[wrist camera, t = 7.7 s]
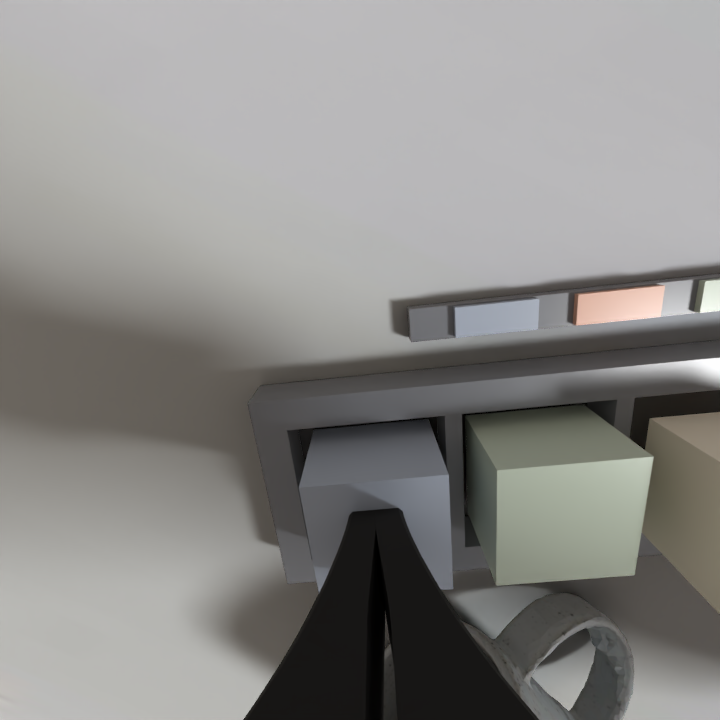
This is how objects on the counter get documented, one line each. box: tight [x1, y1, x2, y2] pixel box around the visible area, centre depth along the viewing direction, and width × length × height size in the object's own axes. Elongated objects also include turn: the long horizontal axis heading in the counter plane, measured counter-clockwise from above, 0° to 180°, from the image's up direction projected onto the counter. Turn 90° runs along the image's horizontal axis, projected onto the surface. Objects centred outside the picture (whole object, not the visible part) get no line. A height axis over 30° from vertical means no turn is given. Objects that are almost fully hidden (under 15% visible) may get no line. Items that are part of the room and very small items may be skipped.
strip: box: [407, 273, 720, 342], centre depth 11 cm, size 12×1×1 cm, turn 96°
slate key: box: [299, 419, 453, 592], centre depth 11 cm, size 4×4×3 cm
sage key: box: [465, 405, 654, 586], centre depth 11 cm, size 4×4×3 cm
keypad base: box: [248, 340, 720, 584], centre depth 12 cm, size 22×7×1 cm, turn 96°
